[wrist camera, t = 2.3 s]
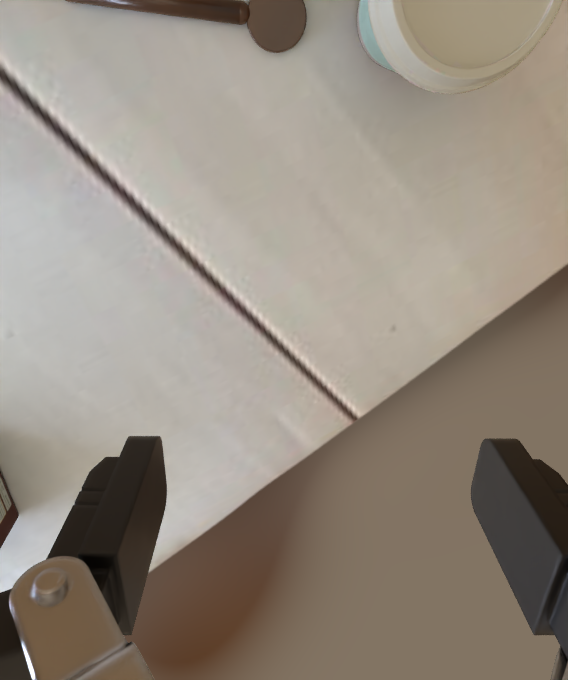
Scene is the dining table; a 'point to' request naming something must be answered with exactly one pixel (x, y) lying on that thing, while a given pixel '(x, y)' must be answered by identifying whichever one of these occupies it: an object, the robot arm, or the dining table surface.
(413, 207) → the dining table surface
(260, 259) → the dining table surface
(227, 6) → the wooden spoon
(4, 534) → the protein box
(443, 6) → the coffee cup
